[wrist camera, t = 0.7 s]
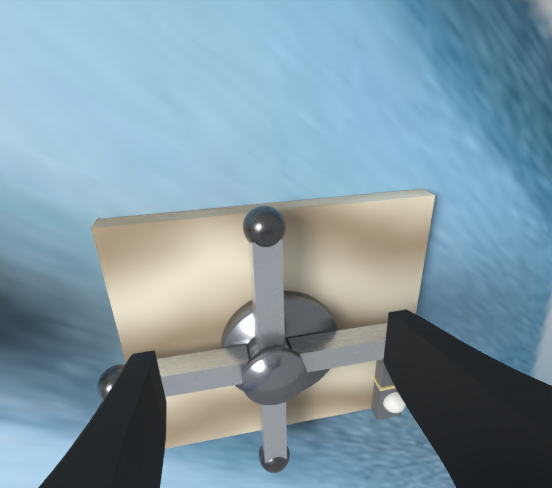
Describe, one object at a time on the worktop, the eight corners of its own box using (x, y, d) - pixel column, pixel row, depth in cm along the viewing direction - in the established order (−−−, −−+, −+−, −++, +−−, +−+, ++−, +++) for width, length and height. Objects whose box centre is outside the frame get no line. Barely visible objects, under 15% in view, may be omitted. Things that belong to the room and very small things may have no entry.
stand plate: (393, 390, 29) (401, 402, 28) (150, 436, 26) (149, 451, 25) (423, 188, 22) (435, 195, 21) (96, 219, 19) (91, 228, 18)
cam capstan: (387, 414, 28) (412, 458, 25) (136, 464, 25) (128, 523, 22) (421, 178, 20) (464, 199, 17) (62, 210, 17) (33, 243, 14)
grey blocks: (395, 403, 28) (407, 424, 26) (369, 408, 27) (380, 429, 26) (404, 339, 25) (419, 357, 24) (377, 343, 25) (389, 362, 23)
